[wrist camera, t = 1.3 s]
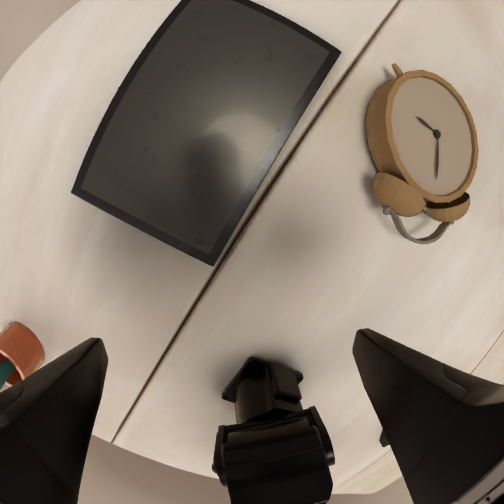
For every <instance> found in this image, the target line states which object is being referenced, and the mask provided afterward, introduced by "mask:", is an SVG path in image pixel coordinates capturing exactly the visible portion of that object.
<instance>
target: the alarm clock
mask: <svg viewBox="0 0 504 504" xmlns="http://www.w3.org/2000/svg"><path fill="white" fill-rule="evenodd" d="M392 67H393V70H394V72H395V73H396V75H397V78H395V79H393V80H389V81H388V82H386V83H385V84H384V85H382V86H381V87H379V88H378V89H377V90H376V92H375V94H374V95H373V97H372V99H371V101H370V103H369V106H368V112H367V118H366V130H367V139H368V145H369V148H370V151H371V153H372V156H373V159H374V162H375V164H376V166H377V167H378V169H379V170H380V173H376V176H375V178H374V181H373V191H374V194H375V196H376V198H377V199H378V201H379V202H380V203H381V204H382V205H383V206H382V207H383V208H384V209H383V214H385V215H388V214H390V215H391V216H392V219H393V221H394V224H395V226H396V228H397V230H398V231H399V233H400V234H401V235H402V236H403V237H404V238H406V239H408V240H410V241H413V242H415V243H419V244H429V243H432V242H435V241H436V240H437V239H439V238H440V237H441V236H442V235H443V233H444V232H445V230H446V229H447V228H448V227H449V225H450V224H453V223H454V221H455V220H458V219H460V218H461V217H463V216H464V215H465V214H466V212H467V210H468V208H469V205H470V197H469V194H467V193H466V192H465V191H466V189H467V188H468V187H469V186H470V184H471V182H472V179H473V177H474V174H475V171H476V168H477V159H478V142H477V133H476V129H475V126H474V123H473V119H472V116H471V114H470V112H469V110H468V108H467V106H466V104H465V102H464V100H463V99H462V97H461V96H460V95H459V94H458V92H457V91H456V90H455V89H454V88H453V87H452V85H451V84H450V83H448V82H447V81H445V80H444V79H443V78H441V77H440V76H438V75H437V74H434V73H431V72H427V71H424V70H417V71H410V72H406V73H405V74H403V73H402V71H401V70H400V68H399V67H398V66H397V65H396V64H392ZM422 210H426V212H427V213H428V215H429V216H430V217H431V218H433V219H434V220H437V221H440V222H442V223H441V224H440V225H439V227H438V228H437V229H436V231H435V232H434V233H433V234H431V235H430V236H428V237H425V238H421V239H415V238H413V237H411V236H410V235H409V234H408V233H407V232H406V230H405V229H404V227H403V225H402V222H401V220H400V218H399V216H398V215H400V216H405V217H411V216H414V215H417V214H418V213H420V212H421V211H422Z"/></svg>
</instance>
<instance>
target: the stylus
mask: <svg viewBox="0 0 504 504" xmlns="http://www.w3.org/2000/svg"><path fill="white" fill-rule="evenodd" d="M15 368H16V367H15V366H14V364H13V363H12V362H11V361H10V360H9V359H8V358H7V357H5V359H4V360H3V361H2V362H1V364H0V389H1V388H2V386H3V385H4V383H5V382H6V381H7V379H8V378H9V376H10V375H11V373H12V372H13V371H14V369H15Z"/></svg>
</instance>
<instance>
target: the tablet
mask: <svg viewBox="0 0 504 504" xmlns="http://www.w3.org/2000/svg"><path fill="white" fill-rule="evenodd" d="M340 54H341V51H340V50H338V49H337V48H335V47H334V46H332V45H331V44H329V43H328V42H326V41H325V40H323V39H322V38H320V37H318V36H317V35H315V34H313V33H312V32H310V31H308V30H307V29H305V28H303V27H302V26H300V25H298V24H296V23H295V22H293V21H291V20H289V19H287V18H285V17H283V16H282V15H280V14H278V13H276V12H274V11H272V10H270V9H268V8H265V7H263V6H261V5H259V4H257V3H255V2H252V1H250V0H181V1H180V3H179V4H178V5H177V6H176V7H175V8H174V10H173V11H172V12H171V13H170V14H169V16H168V17H167V18H166V19H165V21H164V22H163V23H162V25H161V26H160V27H159V28H158V30H157V31H156V32H155V34H154V35H153V37H152V38H151V39H150V41H149V42H148V43H147V45H146V46H145V48H144V49H143V51H142V52H141V54H140V55H139V57H138V58H137V60H136V61H135V63H134V64H133V66H132V67H131V69H130V71H129V72H128V74H127V75H126V77H125V79H124V80H123V82H122V84H121V85H120V87H119V89H118V91H117V92H116V94H115V96H114V98H113V100H112V101H111V103H110V105H109V107H108V109H107V111H106V113H105V115H104V117H103V119H102V121H101V123H100V125H99V127H98V129H97V131H96V133H95V135H94V137H93V139H92V142H91V144H90V146H89V148H88V151H87V153H86V155H85V158H84V160H83V162H82V165H81V167H80V170H79V172H78V175H77V178H76V180H75V183H74V186H73V189H72V191H71V193H72V194H74V195H76V196H78V197H79V198H81V199H83V200H85V201H87V202H89V203H90V204H92V205H94V206H96V207H98V208H100V209H101V210H103V211H105V212H107V213H109V214H111V215H113V216H115V217H116V218H118V219H120V220H122V221H124V222H126V223H128V224H130V225H132V226H133V227H135V228H137V229H139V230H141V231H143V232H145V233H147V234H149V235H151V236H153V237H155V238H157V239H159V240H161V241H162V242H164V243H166V244H168V245H170V246H172V247H174V248H176V249H178V250H180V251H182V252H184V253H186V254H188V255H190V256H192V257H194V258H196V259H198V260H200V261H202V262H204V263H206V264H208V265H210V266H212V267H213V266H214V265H215V263H216V261H217V260H218V258H219V256H220V254H221V252H222V251H223V249H224V247H225V245H226V244H227V242H228V240H229V238H230V237H231V235H232V233H233V231H234V230H235V228H236V226H237V224H238V223H239V221H240V219H241V217H242V216H243V214H244V212H245V210H246V209H247V207H248V205H249V203H250V202H251V200H252V198H253V197H254V195H255V193H256V191H257V190H258V188H259V186H260V185H261V183H262V181H263V179H264V178H265V176H266V174H267V173H268V171H269V169H270V168H271V166H272V164H273V163H274V161H275V159H276V157H277V156H278V154H279V152H280V151H281V149H282V147H283V146H284V144H285V142H286V141H287V139H288V138H289V136H290V134H291V133H292V131H293V129H294V128H295V126H296V124H297V123H298V121H299V119H300V118H301V116H302V115H303V113H304V111H305V110H306V108H307V106H308V105H309V103H310V102H311V100H312V98H313V97H314V95H315V94H316V92H317V90H318V89H319V87H320V86H321V84H322V82H323V81H324V79H325V78H326V76H327V75H328V73H329V71H330V70H331V68H332V67H333V65H334V64H335V62H336V60H337V59H338V57H339V56H340Z"/></svg>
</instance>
